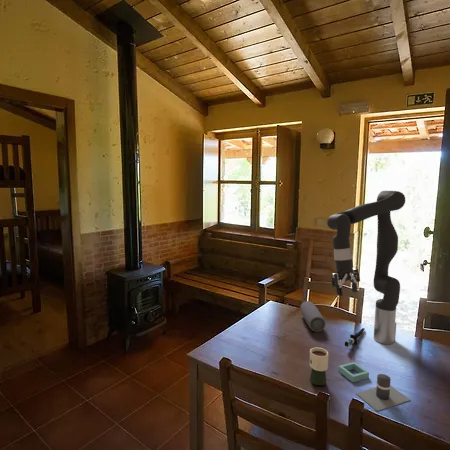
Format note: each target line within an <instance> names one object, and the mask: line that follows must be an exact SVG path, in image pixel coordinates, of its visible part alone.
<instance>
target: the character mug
mask: <svg viewBox="0 0 450 450" xmlns="http://www.w3.org/2000/svg"><path fill="white" fill-rule="evenodd" d="M308 365H309V367H310V368H311V372H310V377H309V381H310V383H311V384H313V385H314V386H315V385H316V386H325V385H326V384H327V373H326V372H327V370H328V369H329V352H328V350H327V349H324V348H322V347H313V348H310V349H309V364H308Z"/></svg>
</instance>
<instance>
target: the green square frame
mask: <svg viewBox="0 0 450 450" xmlns="http://www.w3.org/2000/svg"><path fill="white" fill-rule="evenodd" d="M352 370H355V371H356V372H357V373H355V374H353V373H352V372H351V371H352ZM338 372H339V373H340V374H341V375H343V376H344V377H345V378H346V379H348V381H350V382H351V383H356V382H359V381H364V380H368V379H369V378H370V372H369V371H368V370H367V369H366V368H364V367H362V366H361V365H359V364H358V363H356V362H355V361H352V362H349V363H346V364H340V365H339V366H338Z"/></svg>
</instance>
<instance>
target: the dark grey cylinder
mask: <svg viewBox="0 0 450 450" xmlns="http://www.w3.org/2000/svg"><path fill="white" fill-rule="evenodd" d="M376 377H377V378H376V387H377V389H376V396H377V397H378V398H380V399H382V400H388V399H389V395H390V386H391V381H392V380H391V377H390V376H389V375H387V374H384V373H378V374H377V376H376Z"/></svg>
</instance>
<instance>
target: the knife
mask: <svg viewBox="0 0 450 450" xmlns="http://www.w3.org/2000/svg"><path fill="white" fill-rule="evenodd" d="M364 332H365V328H364V327H362V328H361V329H360V330H359V331H358V332H355V333H354V334H350V337H349V339H347V340H345V342H344V346H345V348H349V347H350V346H352V345H353V344H354V345H357V344H358V338H360V336H362V334H363V333H364Z"/></svg>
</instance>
